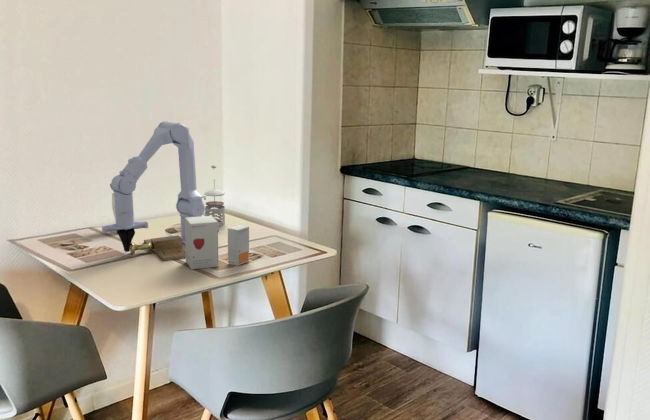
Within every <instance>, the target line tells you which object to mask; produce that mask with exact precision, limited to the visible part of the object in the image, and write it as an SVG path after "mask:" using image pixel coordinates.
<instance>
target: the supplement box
mask: <svg viewBox="0 0 650 420" xmlns="http://www.w3.org/2000/svg"><path fill="white" fill-rule="evenodd" d="M214 218H215V217H214ZM214 218H213V217H212V215H210V216H204V215H202V216H201V217H187V218H185V244H184V245H185V251H186V258H185V262H186V263H187V265H188V267H189V268H190V270H199V269H208V268H217V267H218V268H219V266H220V265H219V230H218V222H217V221H216V220H215V219H214Z"/></svg>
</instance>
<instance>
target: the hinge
mask: <svg viewBox="0 0 650 420" xmlns="http://www.w3.org/2000/svg"><path fill="white" fill-rule="evenodd" d="M150 243H154V248H152V249H150V251H152V252H153V253H154V254H155V255H156V256H157V257H158V258H159V259H161V260H162V261H163V262H167V261H171V260H172V261H173V259H174V260H179V259H186V249H184V248H183V243H182V238H181V235H178V234H177V235H172V236H171V235H169V236H161V237H155V238H154V237H153V238H149V239H143V244H150ZM166 260H167V261H166Z"/></svg>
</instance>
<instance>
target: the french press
mask: <svg viewBox="0 0 650 420" xmlns="http://www.w3.org/2000/svg"><path fill="white" fill-rule="evenodd" d="M211 169H217V165H215V164H212V165H211ZM215 182H216V181H215V180H213V186H214V187H213V189H209V190H207V191H205V192H204V193H203V196H201V197H202V199H203V200H204V201H206V200H207V197H213V198H214V200H212V201H211V200H210V201H206V202H205V205H206V206H205V210H204V213H203V215H202V216H212V217H213V218H214V219H215V220H216V221H217V222H218V231H219V230H224V229H228V225H227V224H226V221H225V220H226V216H225V215H226V212H225V210H226V209H225V206H224V204H225V203H224V202H223V201H219V200H218V201H216V197H221V196H224V195H225V193H226V192H224V191H223V190H221V189H217V188H215ZM206 196H207V197H206Z"/></svg>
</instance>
